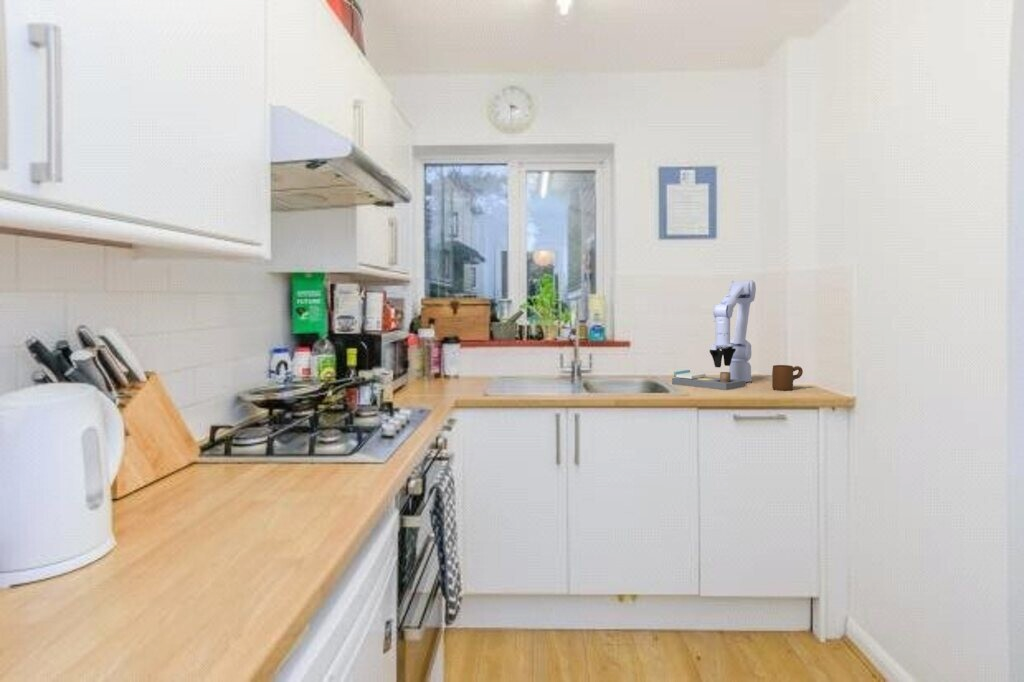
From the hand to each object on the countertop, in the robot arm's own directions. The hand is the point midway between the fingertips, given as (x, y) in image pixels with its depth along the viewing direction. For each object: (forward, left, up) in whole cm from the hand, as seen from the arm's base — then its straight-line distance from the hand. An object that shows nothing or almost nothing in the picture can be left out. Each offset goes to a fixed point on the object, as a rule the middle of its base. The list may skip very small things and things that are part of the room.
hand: (722, 366), depth 262 cm
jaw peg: (0, +1, -8) cm, 9 cm away
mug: (-11, +22, -9) cm, 26 cm away
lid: (0, -16, -6) cm, 17 cm away
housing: (0, -7, -8) cm, 11 cm away
